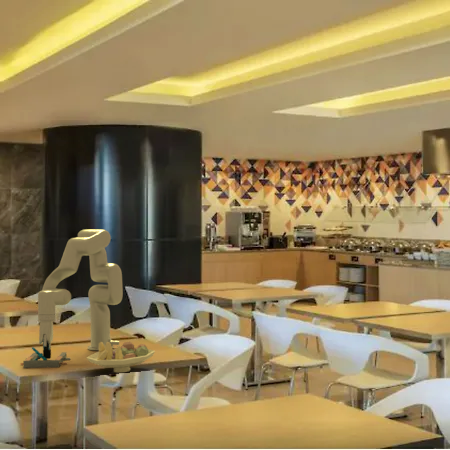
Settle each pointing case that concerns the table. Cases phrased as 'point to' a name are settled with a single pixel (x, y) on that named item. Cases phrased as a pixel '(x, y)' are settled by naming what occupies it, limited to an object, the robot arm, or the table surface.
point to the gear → (38, 354)
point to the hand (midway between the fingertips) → (47, 358)
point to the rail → (44, 361)
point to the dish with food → (120, 356)
